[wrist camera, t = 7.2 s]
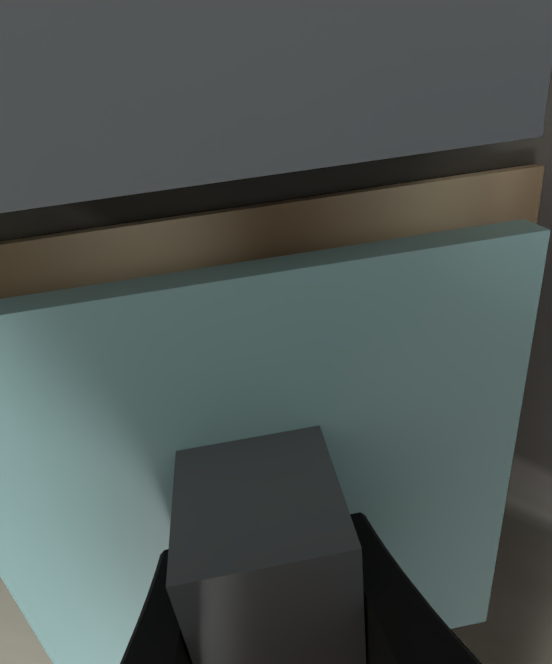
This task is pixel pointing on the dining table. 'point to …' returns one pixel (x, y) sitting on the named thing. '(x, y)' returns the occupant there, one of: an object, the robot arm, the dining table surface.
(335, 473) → the lid
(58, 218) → the dining table surface
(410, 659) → the robot arm
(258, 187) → the dining table surface
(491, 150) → the dining table surface
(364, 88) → the grey square slab
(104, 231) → the cork pad
